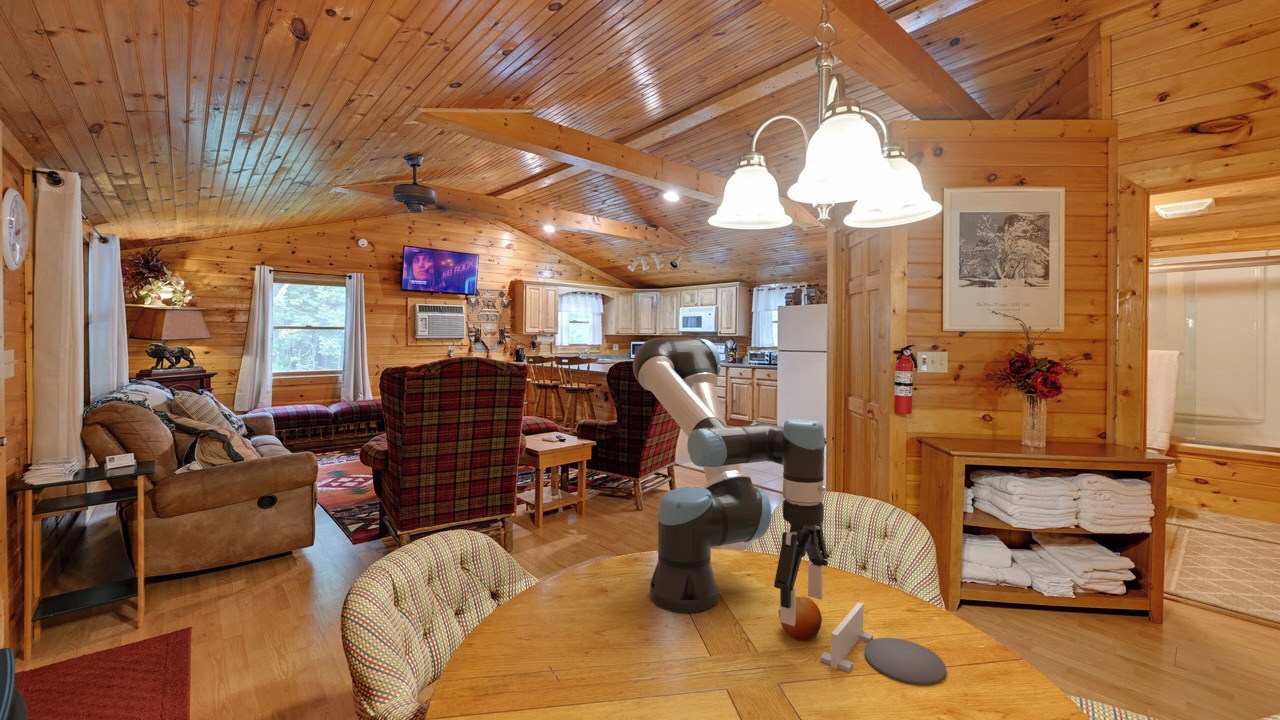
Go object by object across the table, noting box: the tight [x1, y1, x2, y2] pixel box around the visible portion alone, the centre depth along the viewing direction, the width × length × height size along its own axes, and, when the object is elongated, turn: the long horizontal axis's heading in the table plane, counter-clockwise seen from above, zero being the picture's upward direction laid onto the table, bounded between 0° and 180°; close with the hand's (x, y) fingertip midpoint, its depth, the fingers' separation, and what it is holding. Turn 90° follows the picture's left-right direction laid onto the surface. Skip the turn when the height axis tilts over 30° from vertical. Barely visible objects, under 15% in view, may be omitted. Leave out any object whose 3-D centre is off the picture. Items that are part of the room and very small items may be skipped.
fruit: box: [778, 596, 823, 642], centre depth 105 cm, size 8×8×8 cm
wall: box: [820, 601, 874, 673], centre depth 100 cm, size 5×15×6 cm, turn 141°
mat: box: [863, 637, 947, 686], centre depth 96 cm, size 13×13×1 cm
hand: (802, 609), depth 104 cm, fingers open, 13 cm apart
